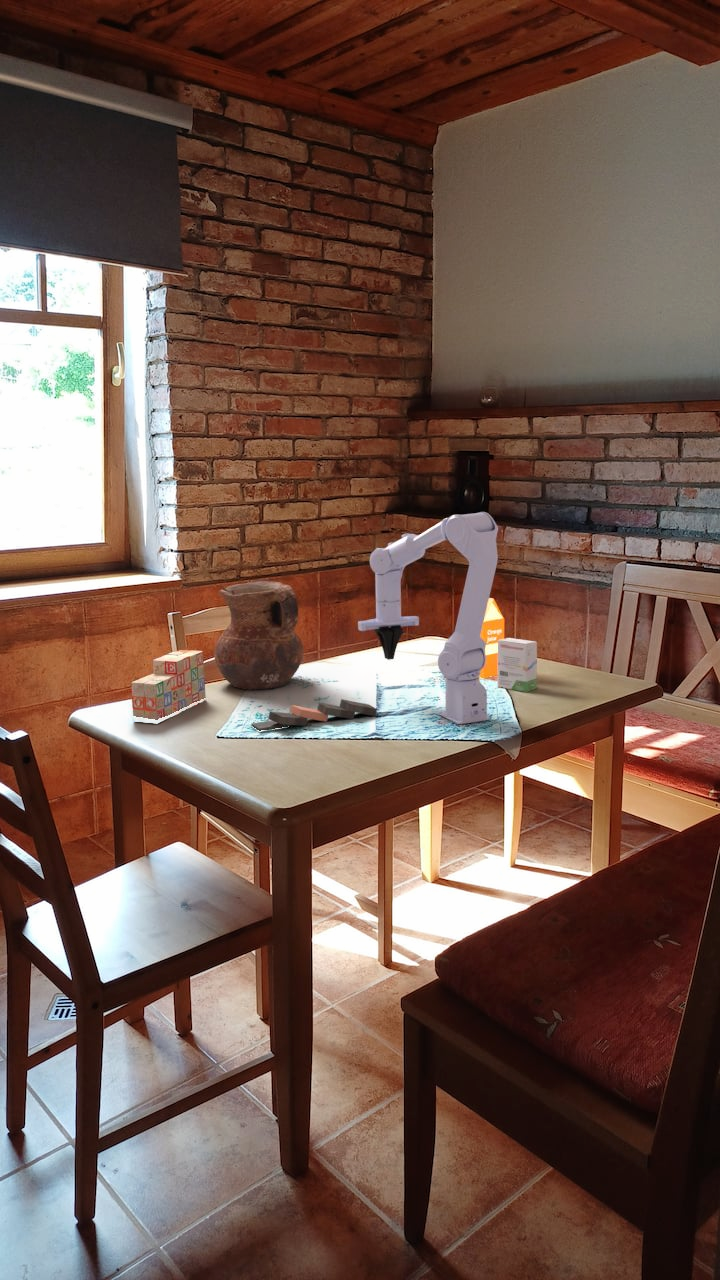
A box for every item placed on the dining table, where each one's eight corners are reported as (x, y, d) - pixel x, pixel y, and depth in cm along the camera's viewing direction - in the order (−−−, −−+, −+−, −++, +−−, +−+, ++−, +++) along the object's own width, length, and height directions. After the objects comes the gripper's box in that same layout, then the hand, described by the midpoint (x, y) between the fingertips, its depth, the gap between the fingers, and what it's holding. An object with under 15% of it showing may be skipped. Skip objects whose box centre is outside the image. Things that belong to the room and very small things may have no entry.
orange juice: (479, 668, 257) (479, 593, 253) (504, 674, 250) (505, 596, 247) (458, 673, 252) (458, 596, 249) (483, 679, 246) (483, 600, 242)
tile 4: (289, 723, 207) (259, 728, 204) (290, 730, 207) (259, 735, 204) (281, 718, 211) (251, 723, 208) (282, 725, 211) (251, 730, 208)
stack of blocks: (157, 725, 211) (154, 670, 209) (133, 723, 213) (129, 668, 211) (206, 701, 231) (203, 650, 228) (183, 699, 233) (180, 648, 231)
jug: (205, 693, 237) (200, 591, 233) (228, 673, 258) (224, 579, 253) (295, 694, 234) (291, 591, 229) (311, 674, 255) (308, 579, 250)
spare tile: (328, 714, 211) (300, 709, 207) (326, 721, 211) (299, 716, 207) (318, 710, 215) (291, 704, 211) (317, 717, 215) (289, 712, 211)
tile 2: (355, 712, 212) (326, 707, 209) (353, 719, 213) (324, 714, 210) (347, 707, 216) (318, 702, 213) (345, 714, 217) (317, 709, 214)
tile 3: (307, 718, 208) (282, 716, 203) (306, 725, 208) (280, 724, 203) (295, 713, 211) (269, 711, 206) (294, 720, 211) (268, 718, 207)
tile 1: (377, 709, 214) (349, 703, 211) (375, 716, 215) (347, 710, 211) (368, 704, 218) (341, 699, 215) (367, 711, 218) (339, 706, 215)
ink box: (537, 688, 235) (538, 640, 233) (526, 692, 232) (526, 644, 229) (508, 683, 241) (508, 636, 238) (496, 687, 237) (496, 639, 235)
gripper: (409, 595, 229) (409, 652, 232) (352, 600, 224) (353, 658, 226) (422, 599, 223) (423, 657, 226) (364, 604, 217) (365, 664, 220)
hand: (389, 658), depth 226 cm, fingers closed
